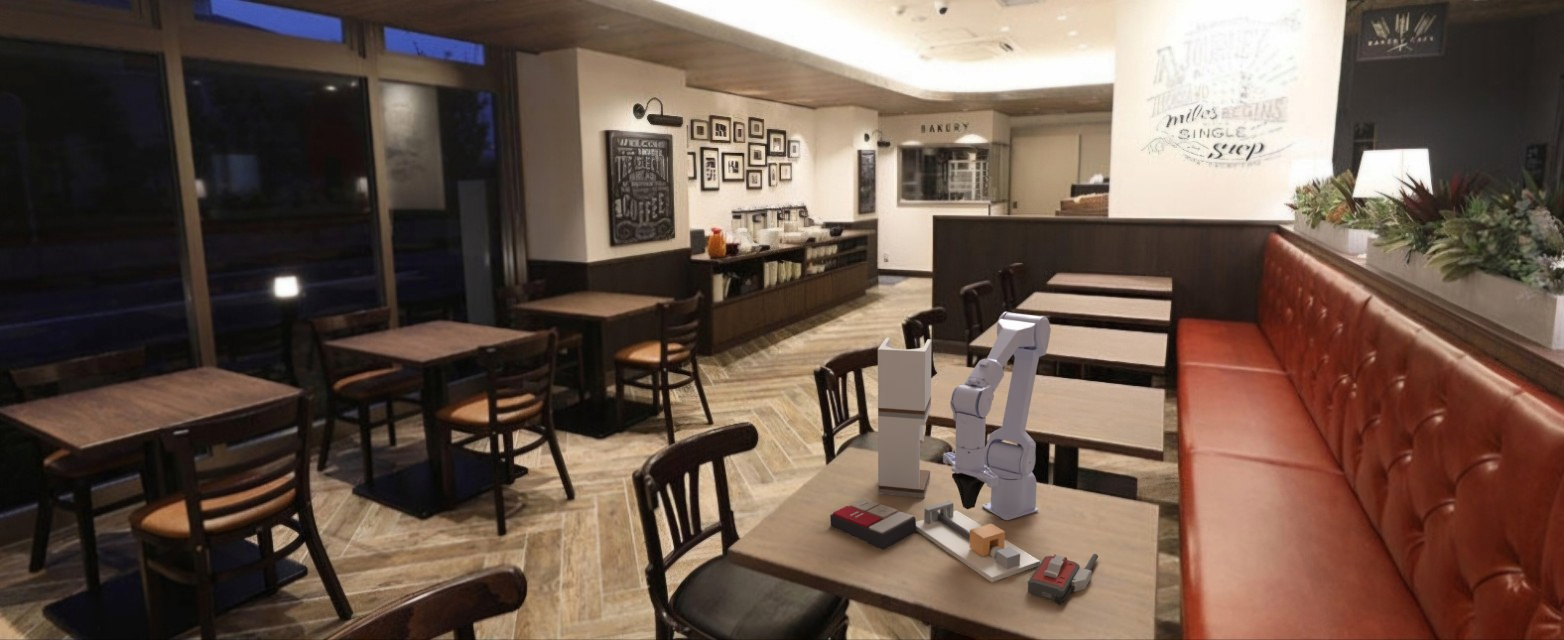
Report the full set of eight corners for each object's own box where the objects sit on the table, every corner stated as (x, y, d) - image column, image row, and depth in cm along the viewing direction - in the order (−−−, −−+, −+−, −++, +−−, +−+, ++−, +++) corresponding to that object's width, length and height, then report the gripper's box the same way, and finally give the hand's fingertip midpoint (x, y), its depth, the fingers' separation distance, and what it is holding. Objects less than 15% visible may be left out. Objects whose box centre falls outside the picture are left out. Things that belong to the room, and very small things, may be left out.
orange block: (990, 541, 160) (991, 523, 159) (1004, 549, 157) (1005, 531, 156) (969, 547, 158) (969, 529, 157) (983, 556, 154) (983, 538, 153)
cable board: (956, 514, 175) (956, 496, 174) (1039, 565, 153) (1040, 545, 152) (911, 527, 169) (911, 509, 168) (991, 582, 148) (992, 561, 147)
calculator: (863, 495, 178) (916, 513, 167) (864, 513, 178) (917, 532, 167) (829, 511, 170) (882, 531, 159) (830, 530, 171) (883, 551, 160)
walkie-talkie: (1073, 613, 138) (1101, 563, 154) (1074, 590, 137) (1102, 542, 153) (1023, 598, 143) (1055, 551, 159) (1024, 576, 142) (1056, 531, 158)
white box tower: (923, 498, 183) (925, 351, 176) (878, 493, 186) (877, 349, 179) (929, 478, 194) (931, 339, 186) (886, 474, 197) (886, 337, 189)
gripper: (931, 436, 162) (930, 497, 165) (978, 460, 150) (977, 526, 153) (958, 430, 165) (957, 490, 168) (1007, 453, 153) (1005, 517, 156)
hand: (968, 507), depth 161 cm, fingers closed
